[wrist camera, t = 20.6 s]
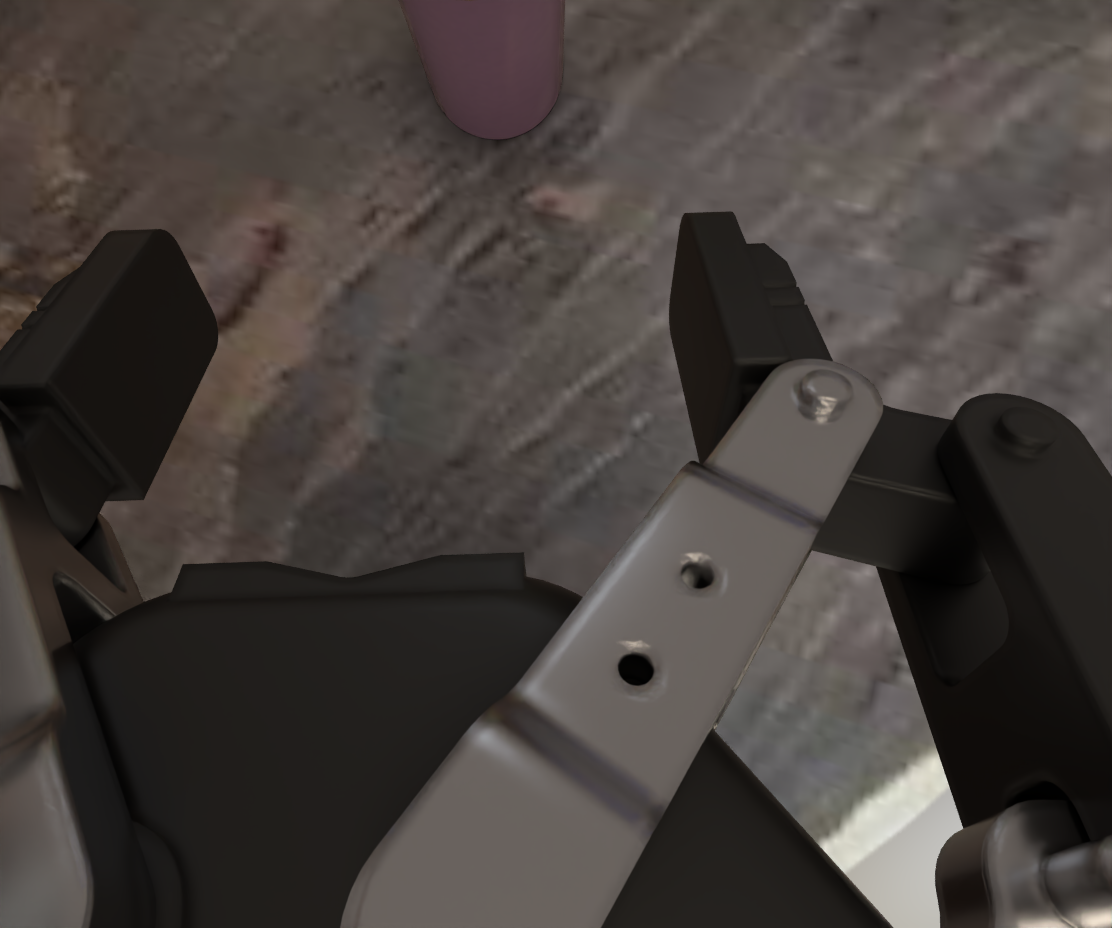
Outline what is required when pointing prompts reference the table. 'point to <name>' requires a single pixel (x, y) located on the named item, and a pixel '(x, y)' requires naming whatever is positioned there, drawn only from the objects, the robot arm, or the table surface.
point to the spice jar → (490, 60)
